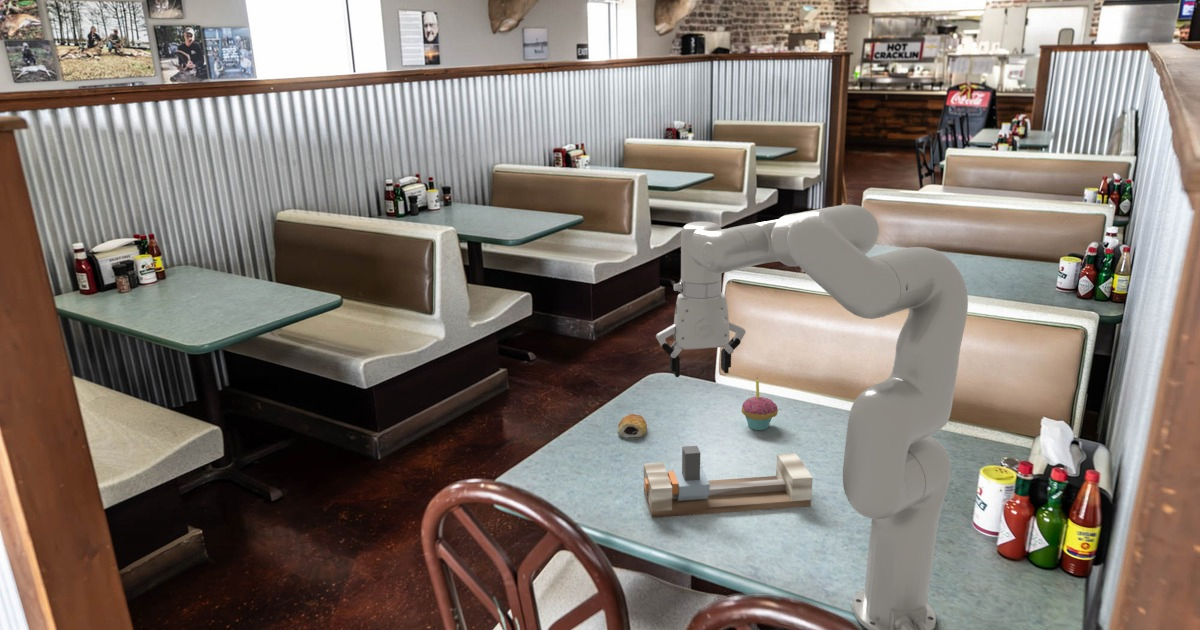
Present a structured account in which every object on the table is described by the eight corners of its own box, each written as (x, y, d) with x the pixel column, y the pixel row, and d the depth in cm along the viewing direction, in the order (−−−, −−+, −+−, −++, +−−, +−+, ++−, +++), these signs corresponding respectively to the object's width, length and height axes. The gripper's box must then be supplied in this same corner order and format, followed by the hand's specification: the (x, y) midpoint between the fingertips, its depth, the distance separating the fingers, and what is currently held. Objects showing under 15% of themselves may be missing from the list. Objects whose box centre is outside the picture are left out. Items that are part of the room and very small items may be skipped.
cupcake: (734, 421, 200) (736, 375, 196) (766, 415, 202) (768, 371, 198) (751, 436, 192) (753, 389, 188) (783, 430, 194) (786, 384, 190)
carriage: (709, 501, 162) (710, 457, 159) (679, 504, 161) (679, 459, 158) (701, 483, 169) (702, 440, 165) (672, 485, 168) (673, 442, 165)
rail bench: (810, 506, 163) (812, 477, 161) (651, 518, 160) (651, 489, 158) (794, 480, 172) (795, 453, 170) (643, 491, 169) (643, 463, 167)
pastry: (621, 420, 202) (621, 406, 200) (649, 422, 201) (649, 408, 199) (617, 438, 193) (616, 423, 192) (645, 440, 192) (645, 425, 191)
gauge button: (678, 494, 162) (678, 483, 161) (647, 496, 161) (647, 485, 160) (673, 481, 167) (673, 470, 166) (643, 483, 166) (643, 473, 165)
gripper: (659, 296, 150) (660, 383, 155) (751, 290, 152) (749, 376, 157) (652, 285, 157) (653, 369, 162) (740, 280, 159) (738, 362, 164)
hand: (700, 372), depth 159 cm, fingers open, 9 cm apart
